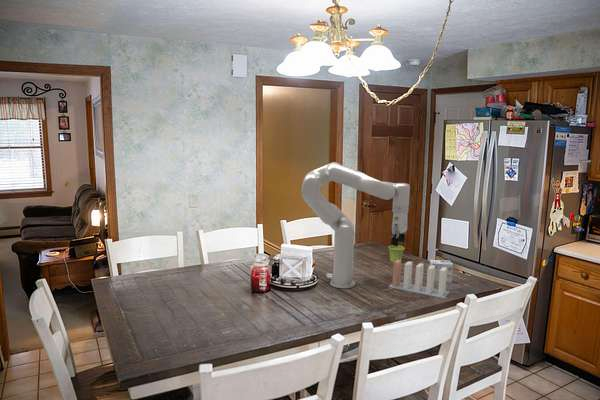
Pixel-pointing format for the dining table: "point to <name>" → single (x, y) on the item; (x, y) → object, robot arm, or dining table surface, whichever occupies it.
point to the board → (422, 291)
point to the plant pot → (395, 252)
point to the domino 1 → (396, 273)
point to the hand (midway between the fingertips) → (397, 243)
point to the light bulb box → (439, 265)
